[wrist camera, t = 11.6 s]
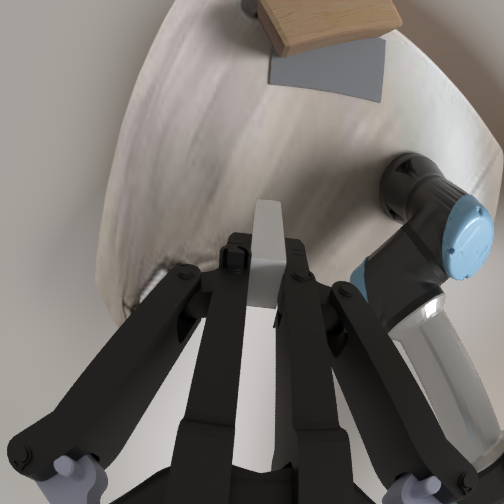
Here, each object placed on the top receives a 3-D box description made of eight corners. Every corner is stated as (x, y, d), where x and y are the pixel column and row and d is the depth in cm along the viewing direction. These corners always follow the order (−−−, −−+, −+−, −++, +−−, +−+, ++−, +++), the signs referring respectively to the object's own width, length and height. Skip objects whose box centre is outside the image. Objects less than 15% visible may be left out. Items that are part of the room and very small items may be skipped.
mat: (384, 40, 32) (385, 40, 32) (379, 102, 39) (380, 102, 39) (274, 18, 32) (274, 18, 32) (269, 84, 39) (269, 84, 39)
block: (279, 60, 36) (381, 37, 31) (283, 48, 27) (407, 25, 23) (255, 15, 32) (358, -7, 27) (253, -7, 23) (378, -26, 18)
